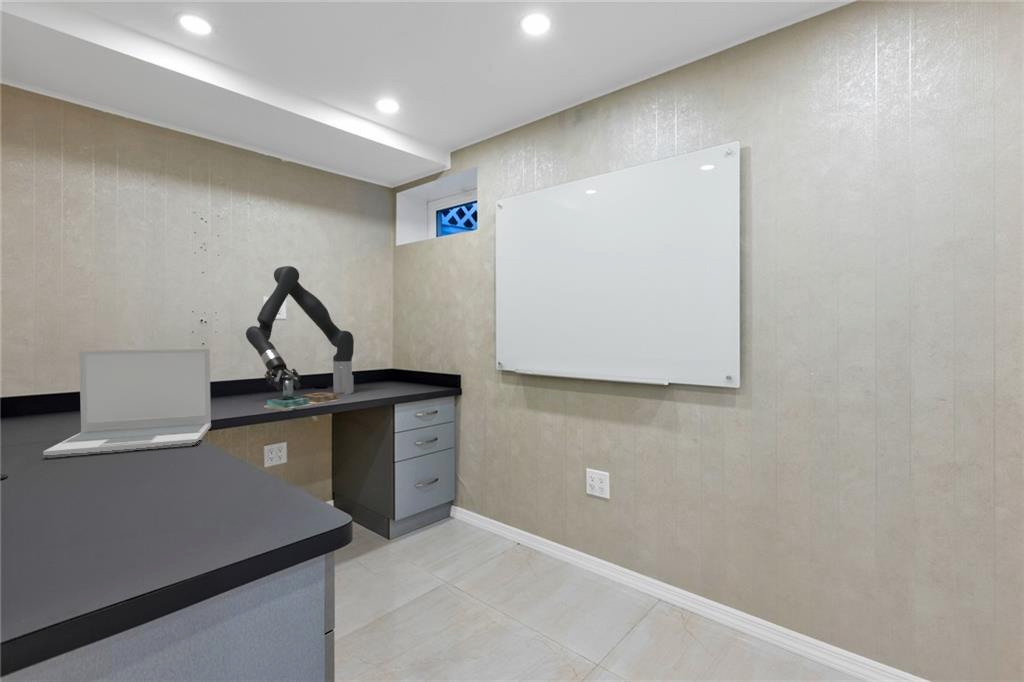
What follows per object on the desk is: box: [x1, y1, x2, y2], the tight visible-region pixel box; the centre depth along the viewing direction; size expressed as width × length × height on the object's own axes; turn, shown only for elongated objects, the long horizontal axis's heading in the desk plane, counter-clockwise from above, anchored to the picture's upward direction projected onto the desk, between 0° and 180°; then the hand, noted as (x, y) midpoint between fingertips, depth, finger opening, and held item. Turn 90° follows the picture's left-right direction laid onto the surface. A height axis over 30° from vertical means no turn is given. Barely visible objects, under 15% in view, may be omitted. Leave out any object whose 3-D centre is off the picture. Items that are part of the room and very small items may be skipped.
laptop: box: [42, 348, 212, 456], centre depth 147 cm, size 35×26×28 cm
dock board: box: [263, 391, 342, 412], centre depth 217 cm, size 29×15×4 cm, turn 150°
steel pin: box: [282, 375, 295, 401], centre depth 210 cm, size 5×5×13 cm
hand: (290, 388), depth 209 cm, fingers open, 8 cm apart
